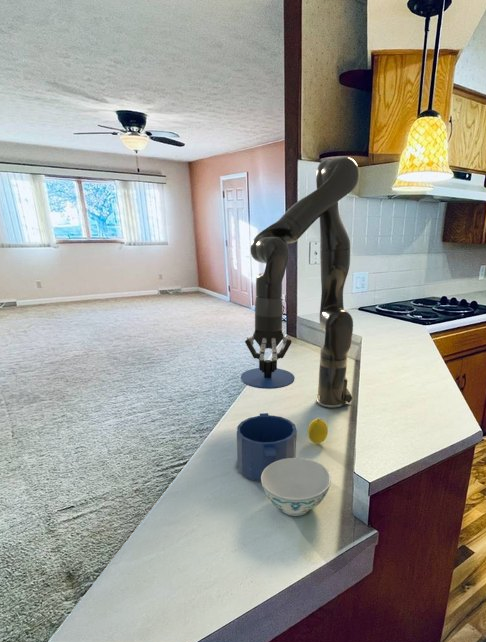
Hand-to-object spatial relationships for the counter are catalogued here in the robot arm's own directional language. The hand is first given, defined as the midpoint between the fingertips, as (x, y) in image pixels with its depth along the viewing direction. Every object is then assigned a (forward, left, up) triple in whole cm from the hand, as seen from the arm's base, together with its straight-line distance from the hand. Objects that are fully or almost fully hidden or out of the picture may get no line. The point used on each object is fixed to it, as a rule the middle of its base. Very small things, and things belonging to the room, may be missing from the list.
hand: (268, 371), depth 119 cm
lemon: (-13, +13, -18) cm, 25 cm away
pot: (+2, +22, -17) cm, 28 cm away
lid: (0, 0, -2) cm, 2 cm away
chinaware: (-3, +39, -18) cm, 43 cm away
